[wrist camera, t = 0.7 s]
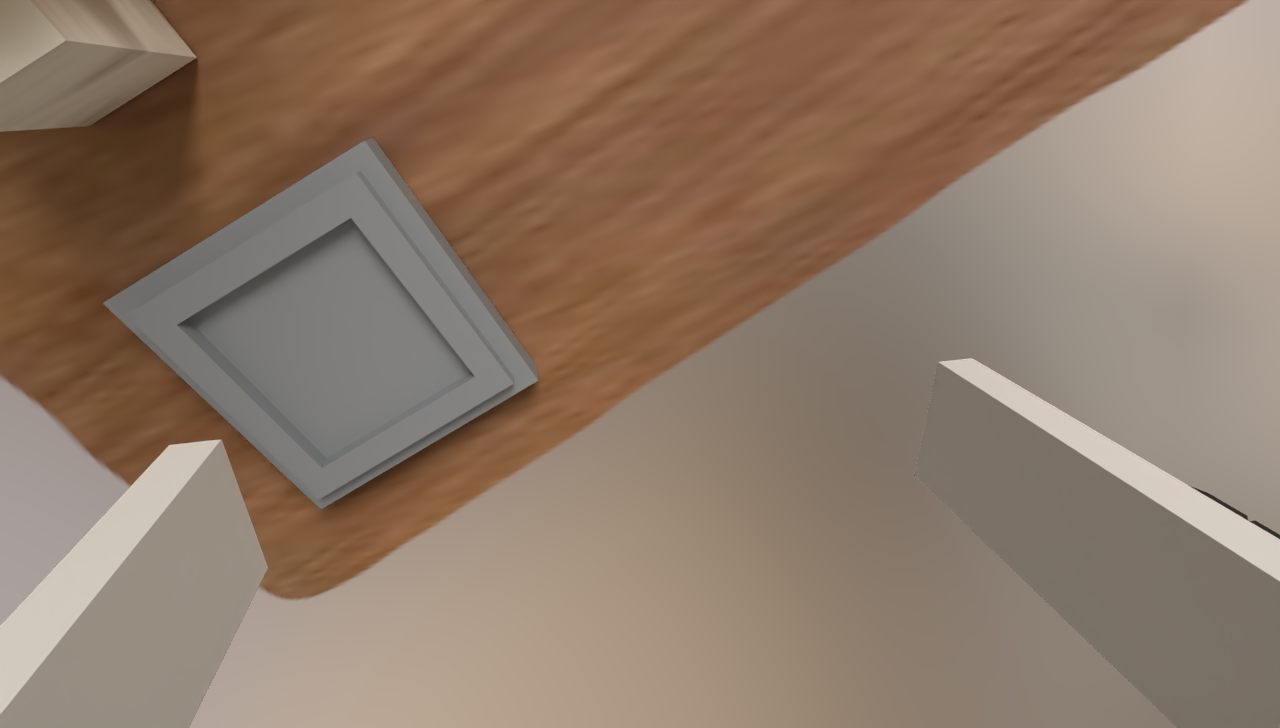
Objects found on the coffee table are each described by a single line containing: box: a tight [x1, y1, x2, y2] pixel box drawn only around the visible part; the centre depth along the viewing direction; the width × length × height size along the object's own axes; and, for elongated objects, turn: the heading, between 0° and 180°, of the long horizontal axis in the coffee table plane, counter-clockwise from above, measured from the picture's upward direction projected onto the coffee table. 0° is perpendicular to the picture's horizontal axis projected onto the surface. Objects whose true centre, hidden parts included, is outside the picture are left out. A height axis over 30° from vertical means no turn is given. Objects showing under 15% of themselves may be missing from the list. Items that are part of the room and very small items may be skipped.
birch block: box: [0, 0, 197, 132], centre depth 22 cm, size 6×6×9 cm
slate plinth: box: [103, 138, 538, 509], centre depth 32 cm, size 15×15×3 cm
